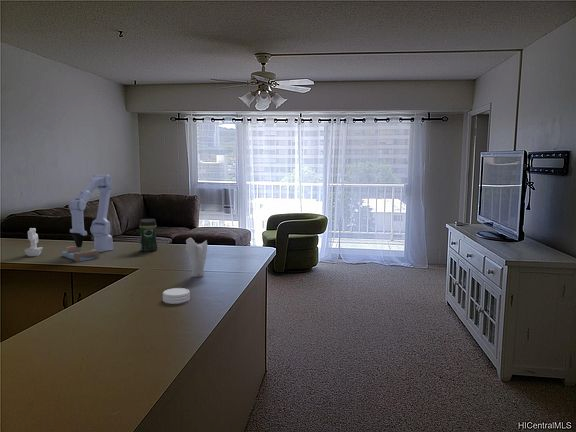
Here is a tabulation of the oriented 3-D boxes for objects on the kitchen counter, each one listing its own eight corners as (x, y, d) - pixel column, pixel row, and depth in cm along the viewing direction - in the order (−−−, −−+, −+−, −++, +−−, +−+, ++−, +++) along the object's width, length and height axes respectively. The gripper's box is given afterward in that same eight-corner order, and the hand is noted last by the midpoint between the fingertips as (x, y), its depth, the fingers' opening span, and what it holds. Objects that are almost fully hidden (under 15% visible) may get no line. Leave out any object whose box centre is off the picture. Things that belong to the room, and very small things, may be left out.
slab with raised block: (78, 253, 246) (77, 244, 245) (82, 254, 243) (82, 245, 242) (62, 255, 238) (61, 246, 238) (66, 257, 235) (65, 247, 235)
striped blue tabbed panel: (85, 254, 244) (85, 247, 243) (99, 257, 235) (98, 250, 235) (63, 257, 234) (63, 250, 234) (77, 261, 226) (76, 254, 225)
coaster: (176, 306, 160) (175, 296, 159) (157, 301, 165) (156, 292, 165) (195, 299, 168) (195, 290, 168) (176, 294, 173) (176, 286, 173)
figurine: (44, 253, 245) (42, 226, 243) (38, 256, 236) (36, 229, 234) (30, 253, 244) (28, 227, 242) (23, 257, 235) (21, 229, 233)
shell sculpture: (210, 274, 203) (209, 236, 201) (201, 279, 196) (200, 239, 193) (194, 273, 206) (194, 235, 204) (185, 277, 198) (184, 238, 196)
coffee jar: (156, 248, 262) (156, 217, 259) (157, 251, 254) (156, 219, 252) (139, 249, 258) (138, 218, 256) (140, 252, 251) (139, 220, 249)
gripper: (63, 221, 235) (65, 246, 236) (77, 224, 226) (78, 250, 228) (76, 220, 240) (77, 244, 242) (90, 222, 231) (91, 248, 233)
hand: (79, 247), depth 235 cm, fingers closed
